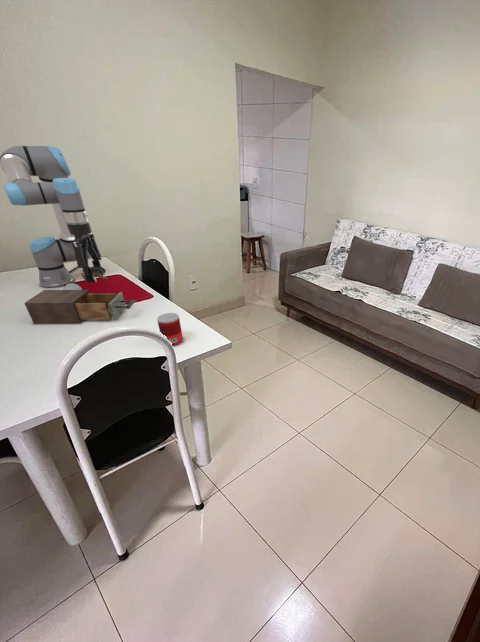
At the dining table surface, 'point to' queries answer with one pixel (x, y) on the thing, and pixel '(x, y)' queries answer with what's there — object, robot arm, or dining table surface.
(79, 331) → the dining table surface
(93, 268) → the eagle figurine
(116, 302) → the drawer
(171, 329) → the canned food
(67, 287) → the ceramic mug
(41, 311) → the cabinet
